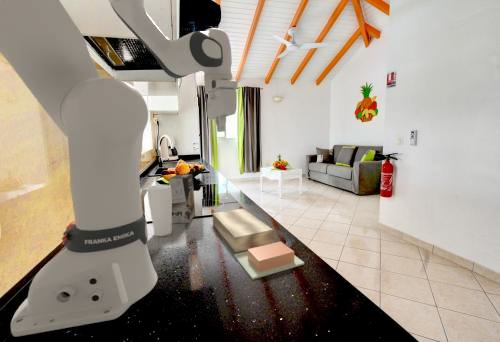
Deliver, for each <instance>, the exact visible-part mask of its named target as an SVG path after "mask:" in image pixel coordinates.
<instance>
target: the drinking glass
mask: <svg viewBox="0 0 500 342" xmlns="http://www.w3.org/2000/svg"><path fill="white" fill-rule="evenodd" d="M147 198H148V206H149V211H150V216H151V221H152V226H153V234H154V236H156V237H166V236H169V235H171V234H172V232H173V223H172V192H171V186H170V185H169V184H156V185H151V186H148V187H147Z"/></svg>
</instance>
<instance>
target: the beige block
mask: <svg viewBox="0 0 500 342" xmlns="http://www.w3.org/2000/svg"><path fill="white" fill-rule="evenodd" d="M212 225H213V226H214V228H215V229H216V230H217V231H218V233H219V234H220V235H221V236H222V237H223V239H224V240H225V241H226V242H227V243H228V245H229V246H230V247H231V248H232V250H233V251H234V252H235V253H241V252H245V251H248V249H251V248H255V247H259V246H264V245H268V244H272V243H274V229H273V228H271V227H270V226H269V225H267V224H266V223H264V222H263V221H261V220H260V218H257V217H256V216H254V215H253V214H251V213H250V212H248V211H247V210H246V209H244V208H237V209H231V210H225V211H219V212H213V213H212Z"/></svg>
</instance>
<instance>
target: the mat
mask: <svg viewBox="0 0 500 342" xmlns="http://www.w3.org/2000/svg"><path fill="white" fill-rule="evenodd" d="M233 255H234V258H235V259H236V261H238V263H239V264H240V265H241V267H242V268H243V270H245V272H246V273H247V274H248V276H249V277H250V278H251V280H256V279H259V278H262V277H267V276H269V275H272V274H276V273H279V272H282V271H286V270H287V271H288V270H290V269H293V268H296V267H300V266H303V265H305V262H304V261H303V260H302V259H300V257H298V256H296V255H295V254H294V262H292V263H289V264H285V265H282V266H278V267H275V268H271V269H268V270H264V271H261V272H259V271H258V270H257V269H256V268H255V267H254V265H253V264H252V263H251V262H250V261H249V260H248V250H245V251H241V252H237V253H234V254H233Z"/></svg>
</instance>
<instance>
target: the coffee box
mask: <svg viewBox="0 0 500 342" xmlns="http://www.w3.org/2000/svg"><path fill="white" fill-rule="evenodd" d="M193 177H194V175H193V174H192V173H187V174H186V173H185V174H175V175H174V176H171V177H169V178H168V185H170V186H171V192H172V224H188V223H190V222H191V221H192V219H194V217H195V216H196V207H195V192H194V178H193ZM194 215H195V216H194Z"/></svg>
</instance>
